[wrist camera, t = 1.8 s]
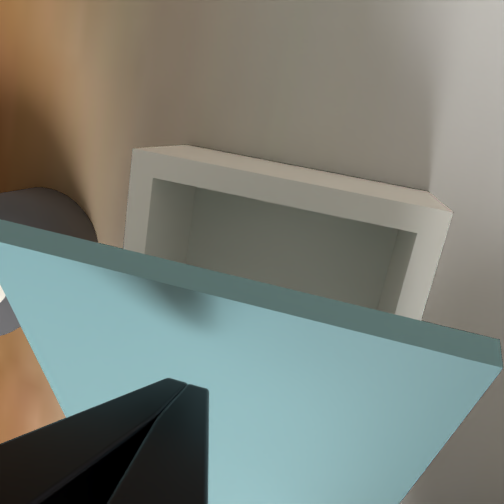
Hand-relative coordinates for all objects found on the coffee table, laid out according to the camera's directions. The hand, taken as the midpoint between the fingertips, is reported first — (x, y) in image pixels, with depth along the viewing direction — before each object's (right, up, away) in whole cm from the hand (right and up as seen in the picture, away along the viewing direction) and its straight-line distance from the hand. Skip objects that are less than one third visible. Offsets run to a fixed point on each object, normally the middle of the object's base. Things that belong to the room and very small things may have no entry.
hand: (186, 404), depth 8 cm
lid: (0, -2, +5) cm, 5 cm away
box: (+2, +1, +12) cm, 12 cm away
